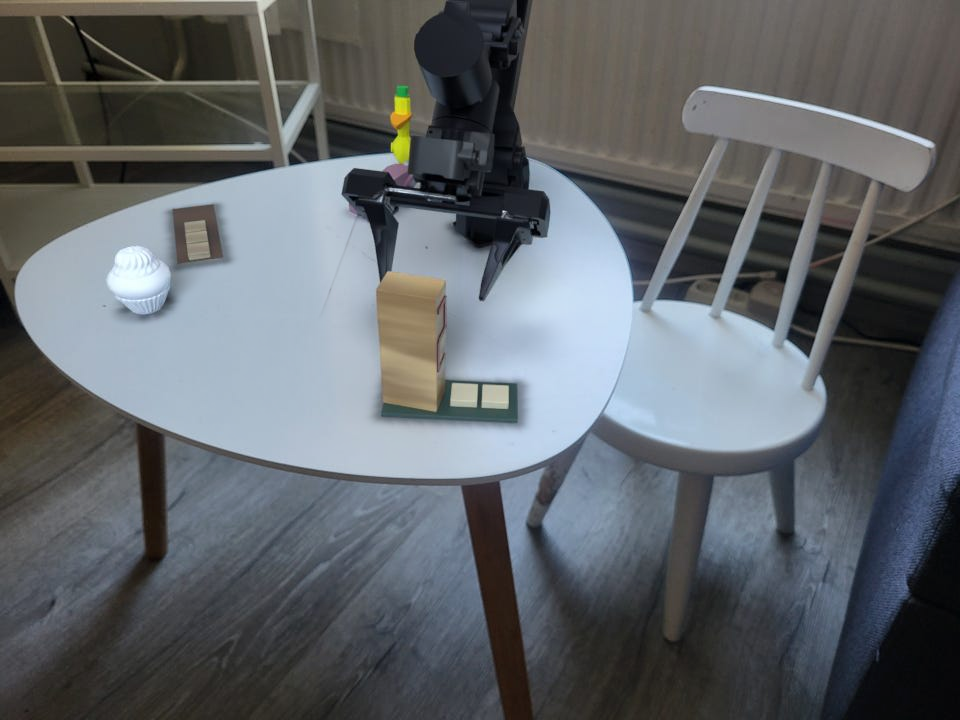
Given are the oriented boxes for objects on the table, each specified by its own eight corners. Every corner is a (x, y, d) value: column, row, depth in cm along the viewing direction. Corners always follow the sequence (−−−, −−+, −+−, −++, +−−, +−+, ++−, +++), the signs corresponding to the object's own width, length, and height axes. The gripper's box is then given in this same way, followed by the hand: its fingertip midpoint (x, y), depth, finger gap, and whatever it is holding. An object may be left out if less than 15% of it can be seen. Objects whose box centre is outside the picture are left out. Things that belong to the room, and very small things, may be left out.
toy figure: (410, 185, 103) (408, 98, 96) (385, 182, 103) (380, 95, 96) (420, 165, 108) (418, 81, 101) (396, 163, 108) (393, 79, 101)
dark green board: (381, 416, 66) (380, 406, 65) (388, 380, 70) (388, 370, 69) (516, 423, 66) (517, 413, 65) (516, 386, 70) (517, 376, 69)
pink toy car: (369, 232, 95) (386, 193, 90) (343, 209, 96) (359, 169, 90) (414, 204, 102) (433, 166, 97) (390, 182, 102) (407, 143, 97)
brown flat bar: (173, 211, 95) (170, 203, 94) (214, 206, 96) (212, 198, 95) (178, 266, 84) (175, 257, 84) (223, 260, 86) (222, 251, 85)
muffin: (149, 284, 81) (133, 227, 77) (191, 300, 79) (176, 242, 75) (102, 312, 77) (82, 252, 73) (145, 330, 75) (127, 270, 70)
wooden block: (393, 381, 69) (387, 270, 62) (446, 391, 68) (447, 279, 61) (382, 402, 67) (375, 289, 59) (437, 412, 66) (437, 299, 59)
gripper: (339, 78, 63) (303, 256, 61) (558, 101, 60) (527, 288, 59) (374, 134, 74) (344, 286, 72) (560, 155, 71) (534, 314, 70)
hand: (432, 293), depth 68 cm, fingers open, 9 cm apart
